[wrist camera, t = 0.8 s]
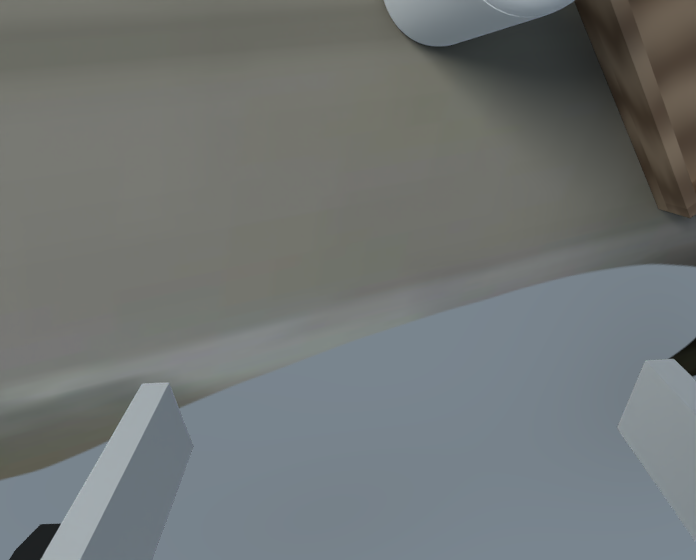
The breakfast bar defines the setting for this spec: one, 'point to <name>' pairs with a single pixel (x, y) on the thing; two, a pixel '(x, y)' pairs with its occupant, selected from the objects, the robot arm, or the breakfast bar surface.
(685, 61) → the tray
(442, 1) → the pill bottle
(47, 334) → the breakfast bar surface
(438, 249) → the breakfast bar surface
